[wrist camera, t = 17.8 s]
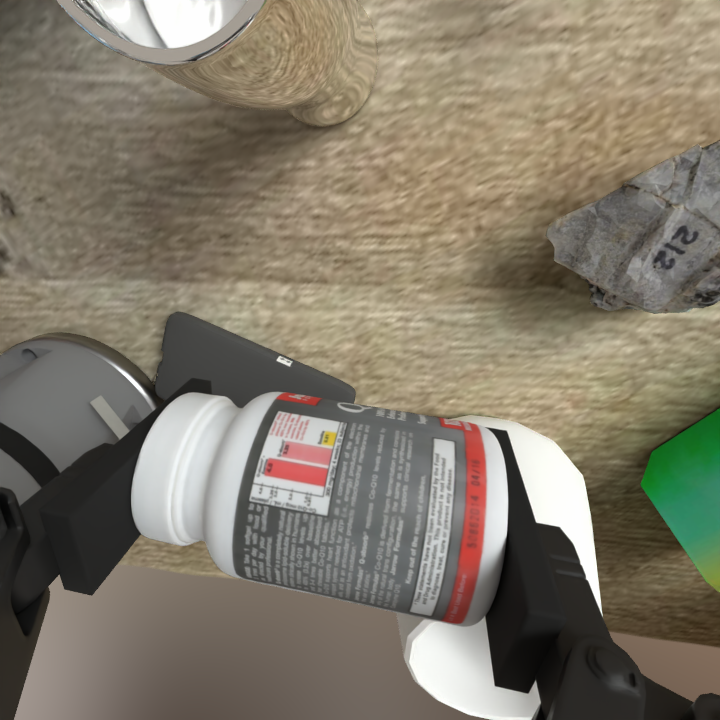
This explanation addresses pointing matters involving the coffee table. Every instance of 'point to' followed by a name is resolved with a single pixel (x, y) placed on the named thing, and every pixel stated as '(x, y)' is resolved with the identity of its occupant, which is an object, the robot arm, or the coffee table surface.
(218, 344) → the cell phone
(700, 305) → the mineral specimen
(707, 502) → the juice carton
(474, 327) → the coffee table surface
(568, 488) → the white vase
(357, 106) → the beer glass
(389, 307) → the coffee table surface
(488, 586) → the pill bottle
